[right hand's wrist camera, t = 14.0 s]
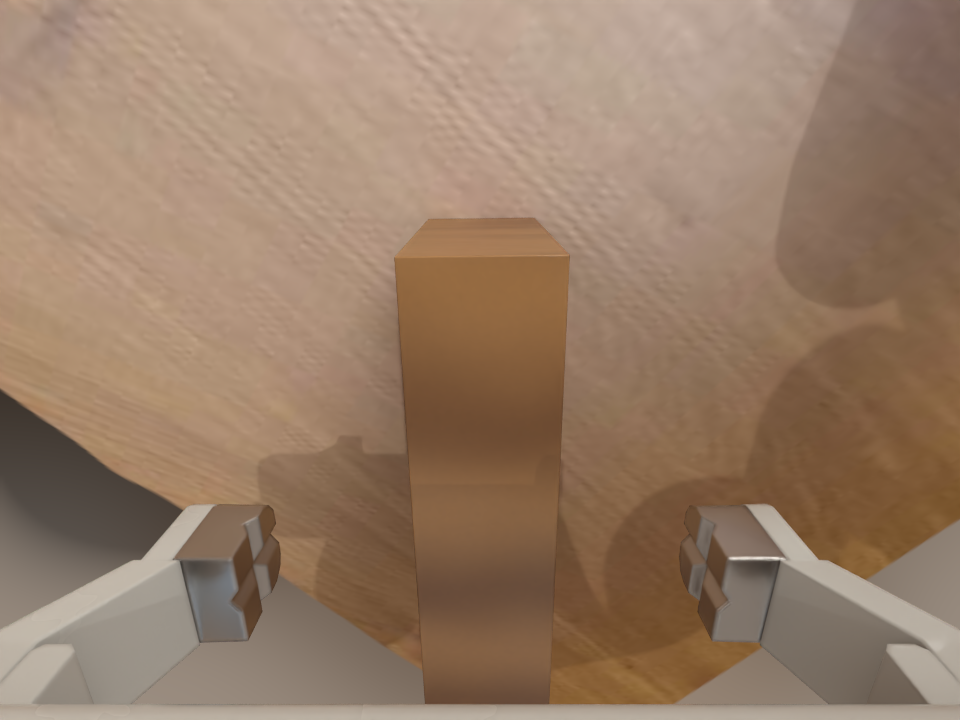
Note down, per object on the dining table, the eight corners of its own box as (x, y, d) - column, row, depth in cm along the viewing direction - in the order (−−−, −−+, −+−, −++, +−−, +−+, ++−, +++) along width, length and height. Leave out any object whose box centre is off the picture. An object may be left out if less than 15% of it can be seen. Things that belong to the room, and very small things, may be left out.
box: (428, 219, 30) (394, 256, 18) (534, 217, 30) (570, 254, 18) (444, 577, 38) (428, 758, 27) (526, 576, 38) (546, 757, 27)
